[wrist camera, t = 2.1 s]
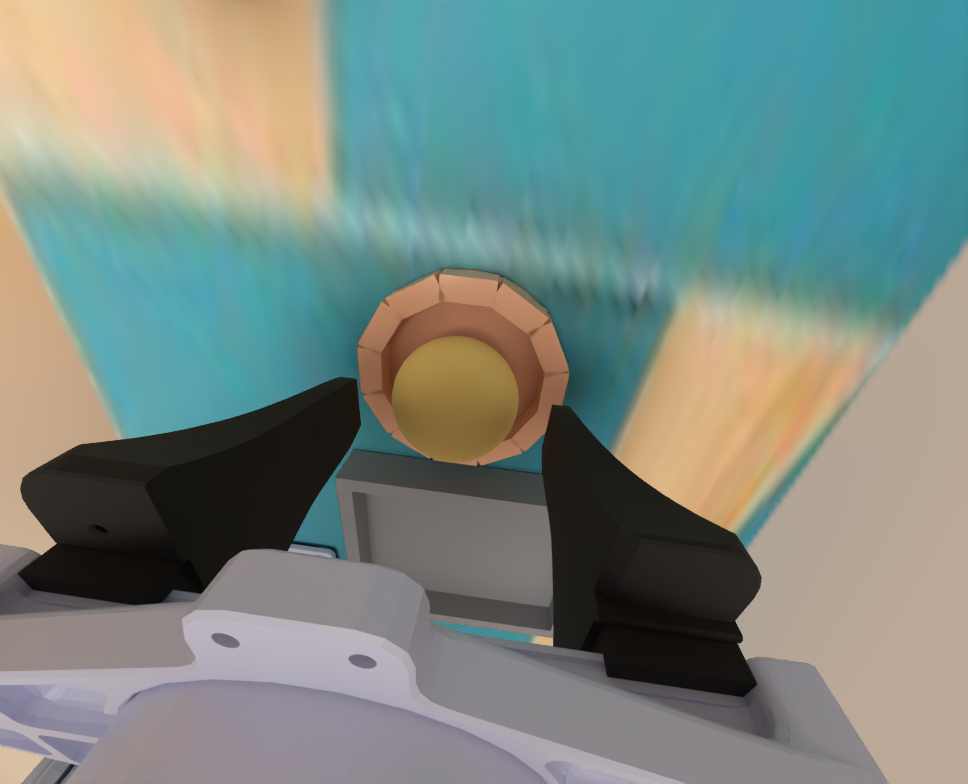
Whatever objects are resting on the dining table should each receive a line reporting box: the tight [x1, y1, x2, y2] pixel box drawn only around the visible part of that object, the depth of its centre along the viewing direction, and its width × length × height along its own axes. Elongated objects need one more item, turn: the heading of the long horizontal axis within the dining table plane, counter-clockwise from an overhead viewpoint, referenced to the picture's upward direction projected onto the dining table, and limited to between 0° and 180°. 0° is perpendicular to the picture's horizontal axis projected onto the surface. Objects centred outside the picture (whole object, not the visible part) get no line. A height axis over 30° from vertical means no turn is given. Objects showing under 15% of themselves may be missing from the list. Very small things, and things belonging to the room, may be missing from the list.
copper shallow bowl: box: [357, 268, 570, 466], centre depth 16 cm, size 9×9×2 cm
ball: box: [392, 336, 519, 462], centre depth 14 cm, size 5×5×5 cm
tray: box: [335, 449, 553, 638], centre depth 21 cm, size 14×12×2 cm
